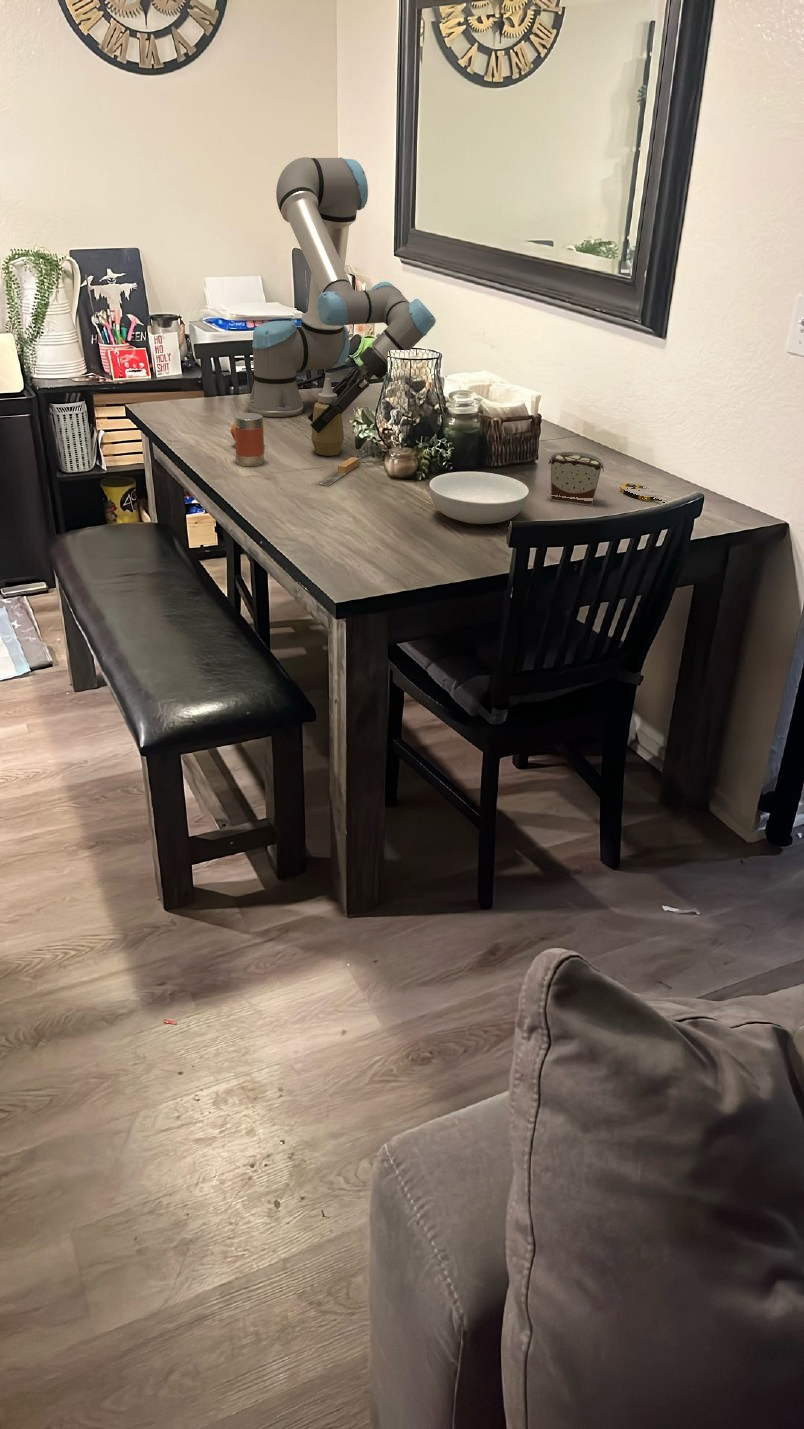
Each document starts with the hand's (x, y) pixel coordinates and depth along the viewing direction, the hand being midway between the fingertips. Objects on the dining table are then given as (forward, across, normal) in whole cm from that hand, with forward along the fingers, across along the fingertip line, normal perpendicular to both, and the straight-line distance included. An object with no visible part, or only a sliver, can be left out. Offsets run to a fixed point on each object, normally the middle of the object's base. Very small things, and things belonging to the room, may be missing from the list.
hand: (313, 425), depth 260 cm
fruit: (+16, -6, -6) cm, 18 cm away
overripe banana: (-46, +39, +56) cm, 82 cm away
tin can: (+16, +7, -6) cm, 19 cm away
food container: (-34, +38, +44) cm, 68 cm away
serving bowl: (-17, +49, +27) cm, 58 cm away
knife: (+2, +18, +8) cm, 20 cm away
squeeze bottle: (+3, 0, +8) cm, 8 cm away
